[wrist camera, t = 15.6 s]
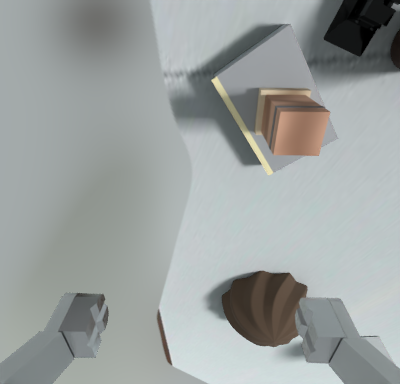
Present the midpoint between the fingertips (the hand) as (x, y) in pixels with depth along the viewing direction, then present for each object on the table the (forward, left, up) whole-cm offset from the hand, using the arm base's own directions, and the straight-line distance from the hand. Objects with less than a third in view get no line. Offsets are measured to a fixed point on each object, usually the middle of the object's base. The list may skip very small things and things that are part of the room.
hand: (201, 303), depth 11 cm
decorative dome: (+44, -12, -32) cm, 55 cm away
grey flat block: (+5, +8, -31) cm, 33 cm away
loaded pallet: (+5, +8, -28) cm, 30 cm away
